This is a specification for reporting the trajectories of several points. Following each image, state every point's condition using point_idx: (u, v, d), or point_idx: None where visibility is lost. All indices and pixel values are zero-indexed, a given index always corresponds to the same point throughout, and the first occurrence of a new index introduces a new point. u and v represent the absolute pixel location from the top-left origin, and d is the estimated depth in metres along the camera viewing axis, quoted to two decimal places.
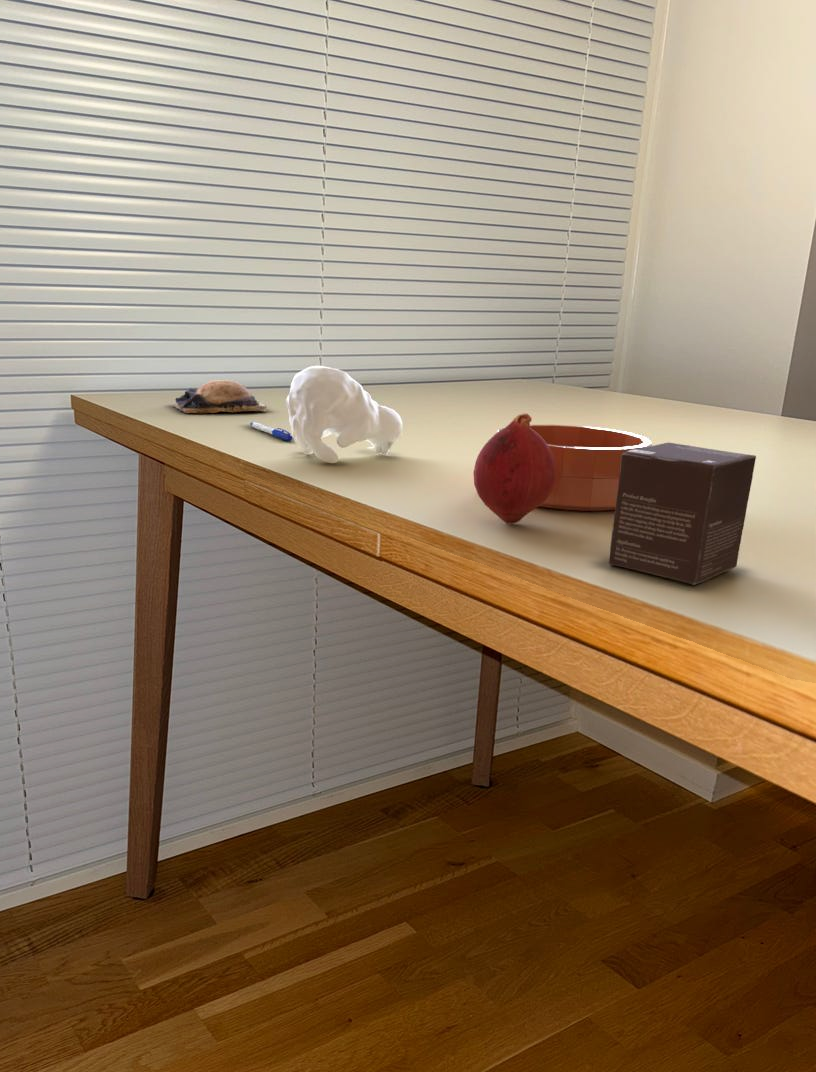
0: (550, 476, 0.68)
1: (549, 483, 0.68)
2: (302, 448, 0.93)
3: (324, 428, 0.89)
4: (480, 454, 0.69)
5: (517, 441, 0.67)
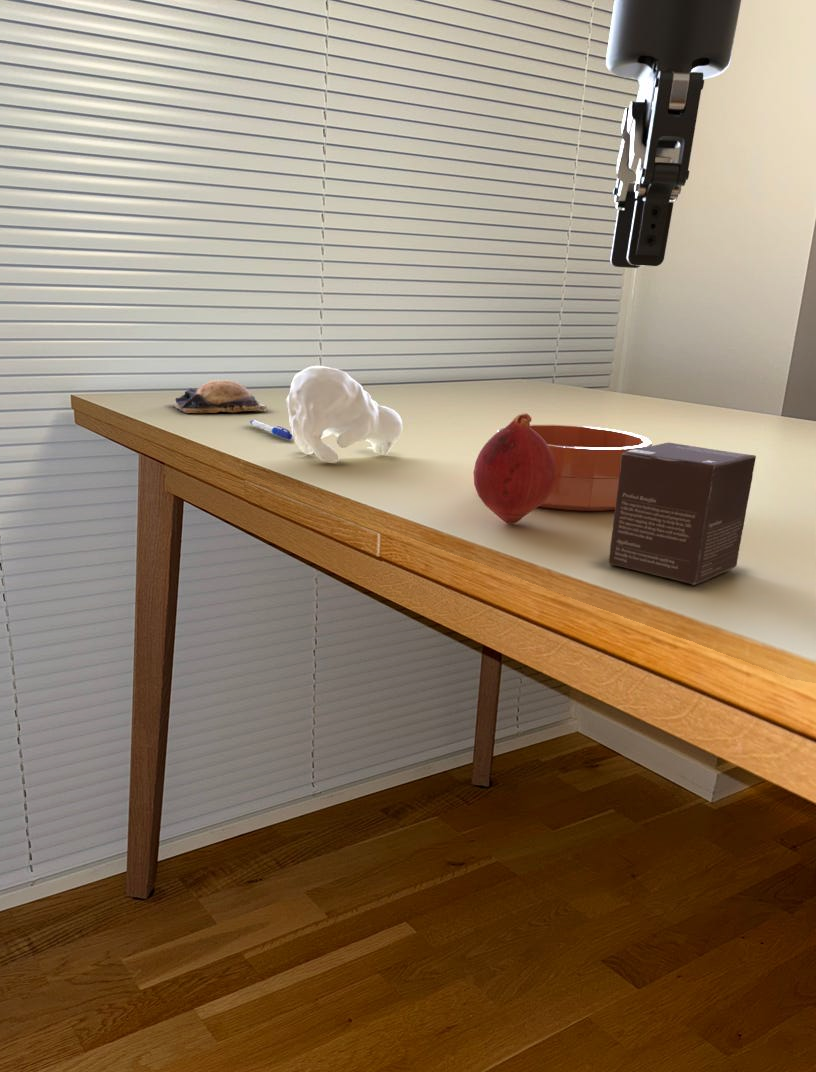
0: (550, 476, 0.68)
1: (549, 483, 0.68)
2: (302, 448, 0.93)
3: (324, 428, 0.89)
4: (480, 454, 0.69)
5: (517, 441, 0.67)
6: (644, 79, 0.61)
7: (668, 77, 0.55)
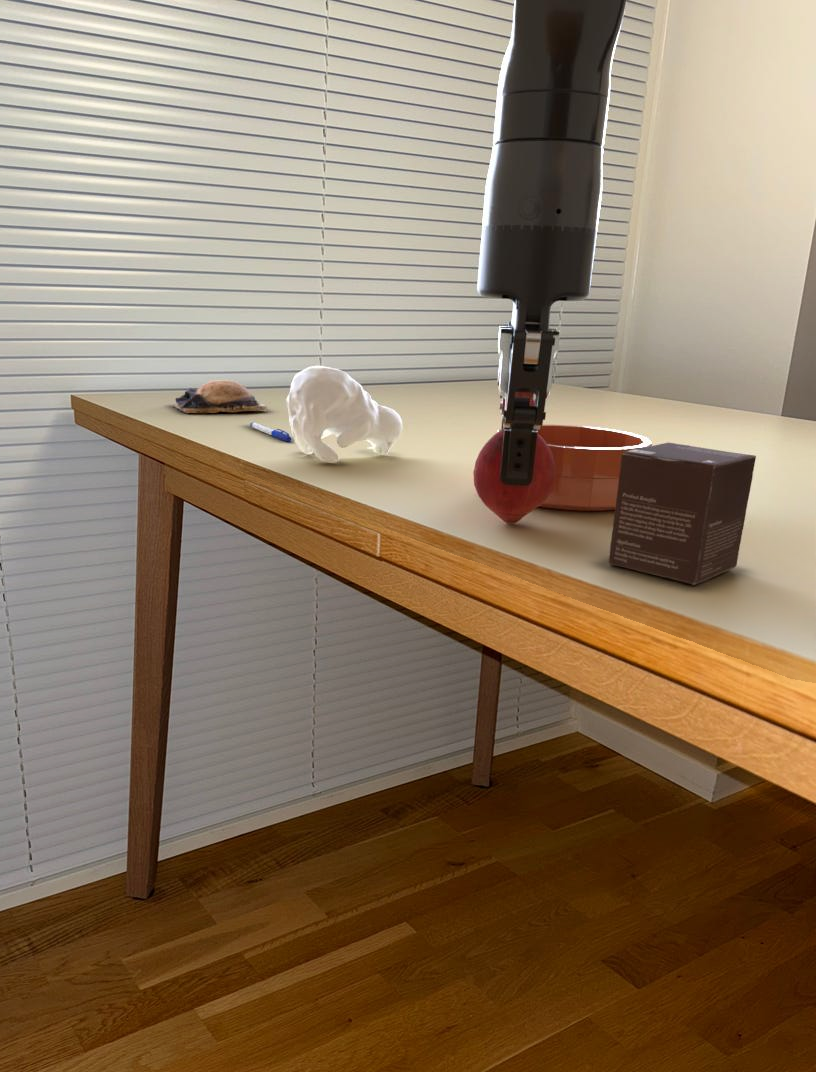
0: (550, 476, 0.68)
1: (549, 483, 0.68)
2: (302, 448, 0.93)
3: (324, 428, 0.89)
4: (480, 454, 0.69)
5: None
6: (513, 303, 0.66)
7: (521, 339, 0.60)
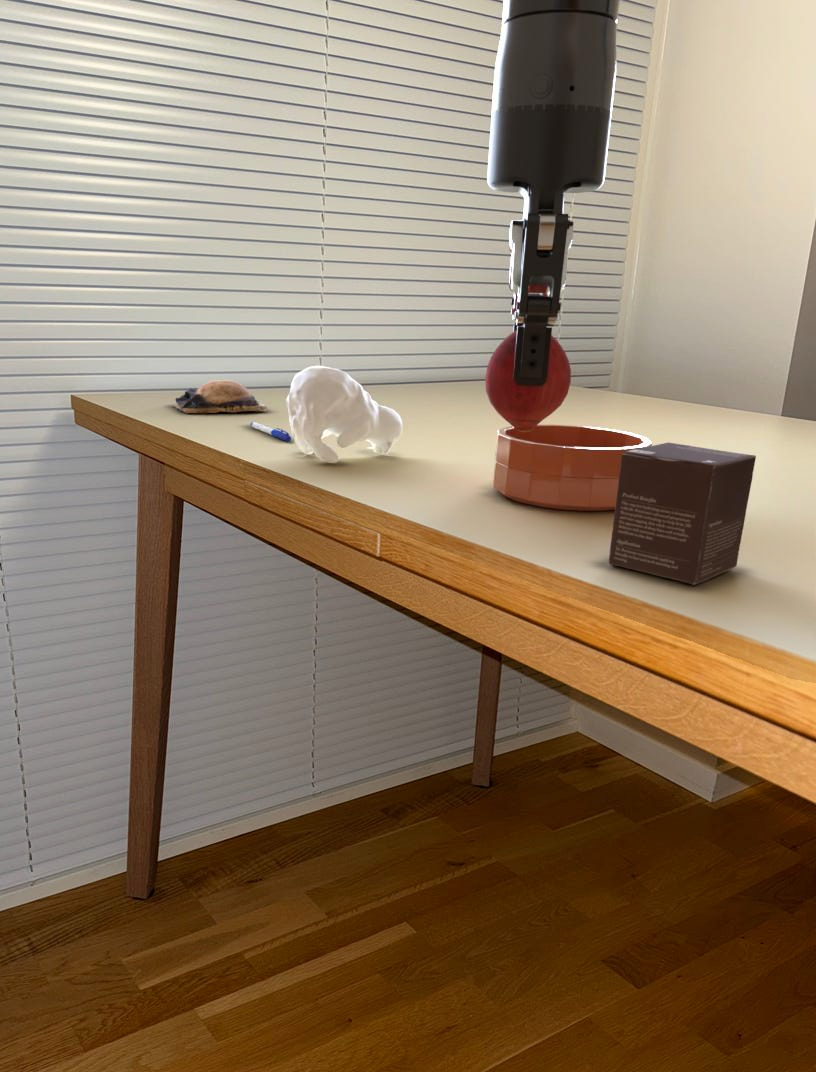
0: (565, 378, 0.65)
1: (565, 385, 0.66)
2: (302, 448, 0.93)
3: (324, 428, 0.89)
4: (492, 358, 0.67)
5: None
6: (525, 196, 0.64)
7: (534, 222, 0.58)
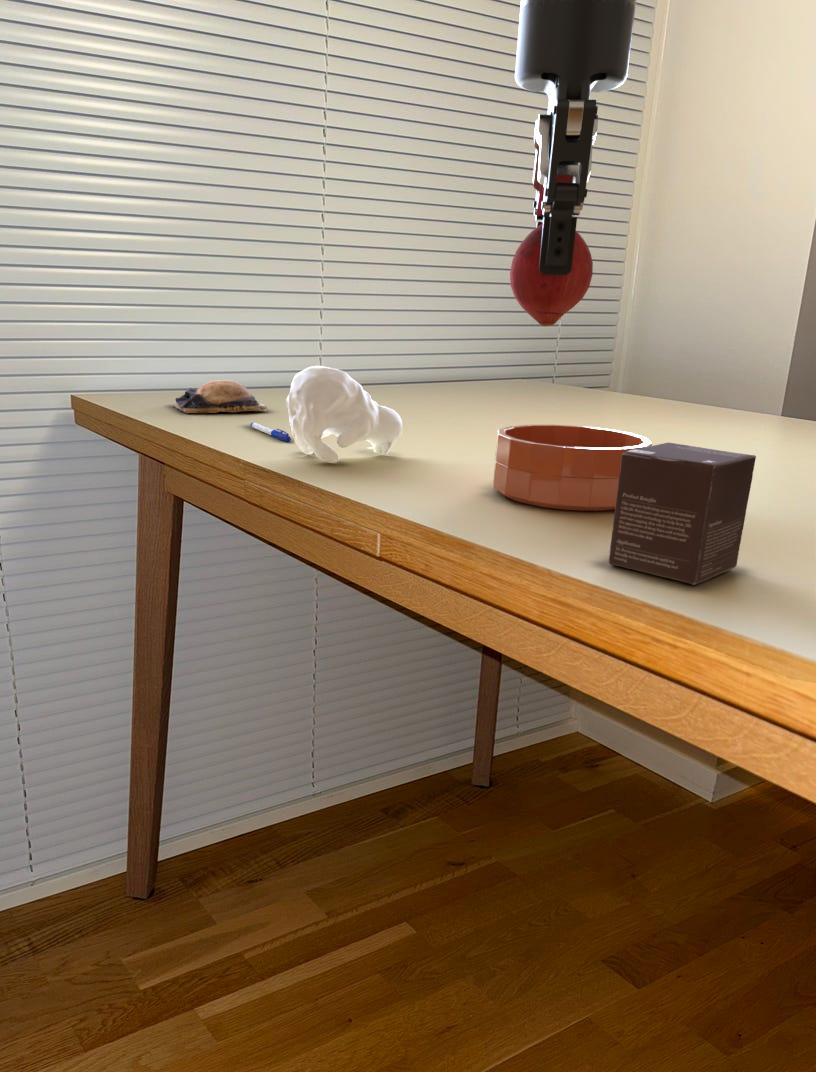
0: (587, 270, 0.68)
1: (587, 277, 0.68)
2: (302, 448, 0.93)
3: (324, 428, 0.89)
4: (517, 252, 0.69)
5: None
6: (551, 93, 0.66)
7: (564, 107, 0.60)
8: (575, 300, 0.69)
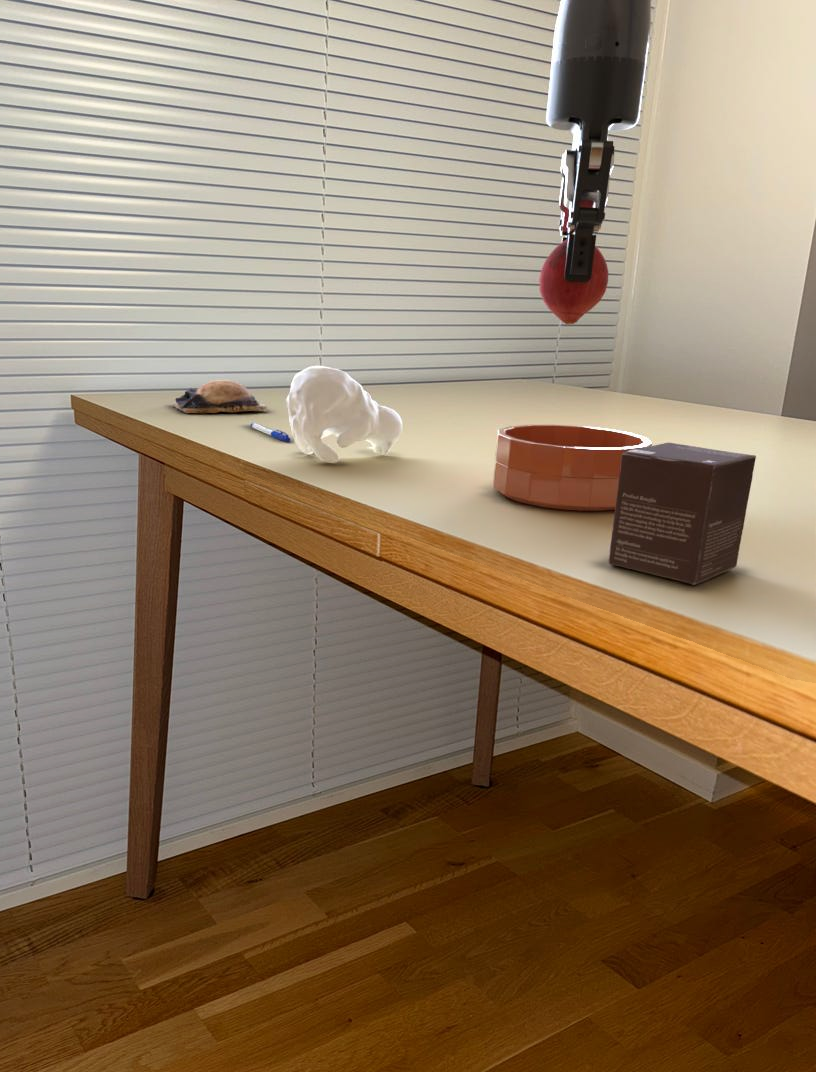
0: (604, 278, 0.82)
1: (603, 284, 0.83)
2: (302, 448, 0.93)
3: (324, 428, 0.89)
4: (545, 262, 0.84)
5: None
6: (575, 132, 0.81)
7: (587, 147, 0.75)
8: (593, 303, 0.83)
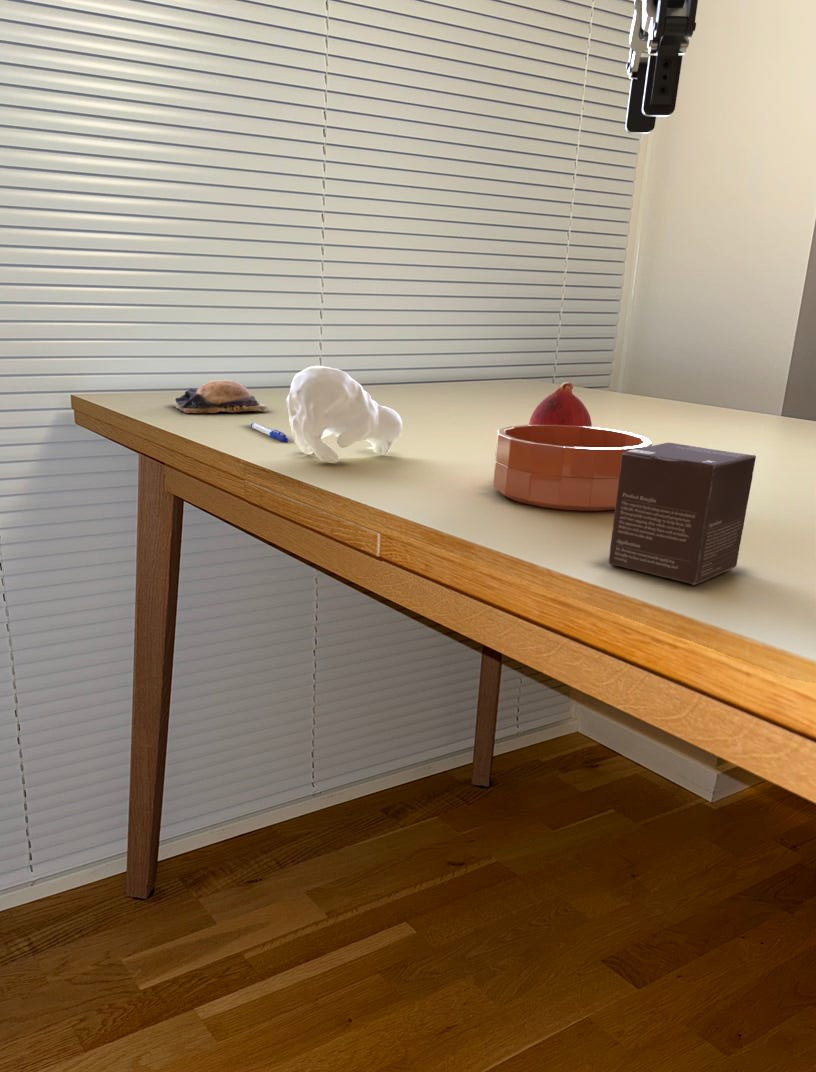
0: None
1: None
2: (302, 448, 0.93)
3: (324, 428, 0.89)
4: (533, 413, 0.91)
5: (562, 403, 0.89)
6: None
7: None
8: None
